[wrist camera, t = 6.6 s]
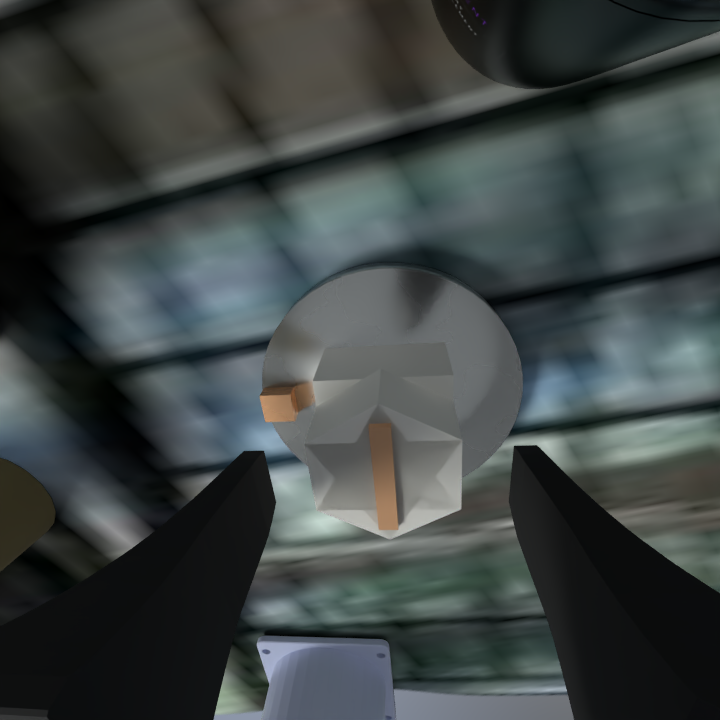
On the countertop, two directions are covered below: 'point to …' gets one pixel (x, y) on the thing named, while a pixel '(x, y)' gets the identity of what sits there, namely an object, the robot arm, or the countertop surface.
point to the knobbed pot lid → (395, 327)
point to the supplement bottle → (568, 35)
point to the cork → (21, 511)
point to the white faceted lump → (385, 437)
